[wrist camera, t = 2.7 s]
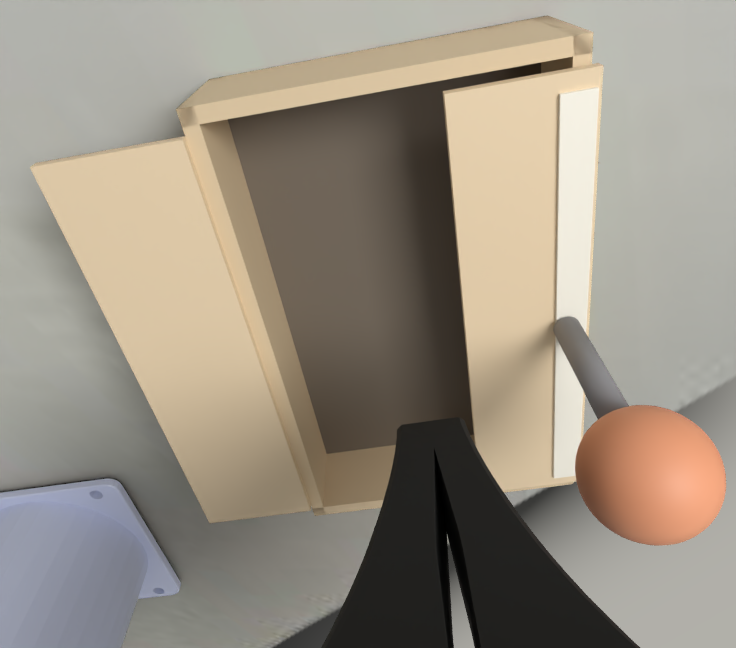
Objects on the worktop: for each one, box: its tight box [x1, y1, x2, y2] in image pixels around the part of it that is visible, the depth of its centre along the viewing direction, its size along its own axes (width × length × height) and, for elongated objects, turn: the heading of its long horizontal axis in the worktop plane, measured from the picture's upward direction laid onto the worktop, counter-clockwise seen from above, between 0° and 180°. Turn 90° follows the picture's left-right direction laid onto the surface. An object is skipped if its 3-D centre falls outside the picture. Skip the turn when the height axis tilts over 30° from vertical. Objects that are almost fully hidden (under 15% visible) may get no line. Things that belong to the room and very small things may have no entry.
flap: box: [443, 63, 726, 545], centre depth 13 cm, size 4×13×7 cm, turn 9°
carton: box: [30, 16, 593, 523], centre depth 17 cm, size 13×14×4 cm
